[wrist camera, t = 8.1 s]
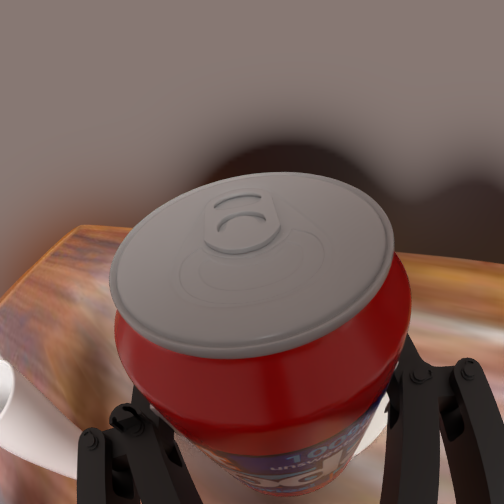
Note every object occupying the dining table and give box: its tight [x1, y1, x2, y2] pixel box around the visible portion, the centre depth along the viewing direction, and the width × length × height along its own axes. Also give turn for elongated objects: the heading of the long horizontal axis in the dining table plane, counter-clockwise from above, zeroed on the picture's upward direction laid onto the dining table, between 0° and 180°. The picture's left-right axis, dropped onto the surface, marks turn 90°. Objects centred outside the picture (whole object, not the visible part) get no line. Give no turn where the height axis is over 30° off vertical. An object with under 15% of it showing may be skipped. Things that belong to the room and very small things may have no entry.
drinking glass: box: [0, 359, 83, 480], centre depth 17 cm, size 7×7×15 cm
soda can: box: [109, 172, 411, 497], centre depth 11 cm, size 8×8×15 cm
